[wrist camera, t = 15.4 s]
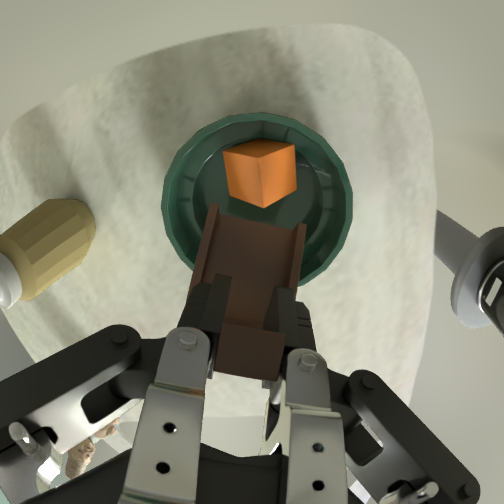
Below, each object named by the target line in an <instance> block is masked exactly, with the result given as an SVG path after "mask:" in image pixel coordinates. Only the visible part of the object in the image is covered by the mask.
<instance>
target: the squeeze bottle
mask: <svg viewBox="0 0 504 504" xmlns="http://www.w3.org/2000/svg"><path fill="white" fill-rule="evenodd" d="M95 228H96V227H95V222H94V217H93V215H92V213H91V211H90V209H89V208H88V207H87V206H86V205H85V204H84V203H83V202H80V201H78V200H76V199H49V200H46V201H45V202H43V203H42V204H41V205H39V206H38V207H36V208H35V209H34V210H32V211H31V212H30V213H28V214H27V215H26V216H24V217H23V218H22V219H20V220H19V221H18V222H16V223H15V224H14V225H13V226H11V227H10V228H9V229H8V230H6V231H5V232H4V233H3V234H2V235H0V306H1V307H4V308H9V307H11V306H12V305H13V304H14V303H15V302H16V301H17V300H18V299H19V300H24V301H29V300H31V299H33V298H35V297H36V296H37V295H39V294H40V293H41V292H43V291H44V290H45V289H46V288H48V287H49V286H51V285H52V284H53V283H55V282H56V281H57V280H59V279H60V278H61V277H63V276H64V275H66V274H67V273H68V272H70V271H71V270H73V269H74V268H75V267H77V266H78V265H80V264H81V263H82V261H83V259H84V258H85V256H86V255H87V252H88V250H89V247H90V245H91V243H92V240H93V238H94V235H95Z"/></svg>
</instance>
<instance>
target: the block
mask: <svg viewBox="0 0 504 504" xmlns="http://www.w3.org/2000/svg"><path fill="white" fill-rule="evenodd" d="M223 157H224V163H225V169H226V175H227V182H228V188H229V194H230V196H232V197H235V198H238V199H241V200H243V201H246V202H249V203H251V204H254V205H257V206H259V207H262V208H265V207H267V206H269V205H270V204H272V203H274V202H276V201H278V200H279V199H281V198H283V197H285V196H286V195H288V194H290V193H292V192H294V191H295V190H297V183H296V163H295V145H294V144H290V143H284V142H278V141H272V140H266V139H259V138H258V139H255V140H252V141H249V142H246V143H243V144H240V145H238V146H235V147H232V148H229V149H227V150H224V151H223Z"/></svg>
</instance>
